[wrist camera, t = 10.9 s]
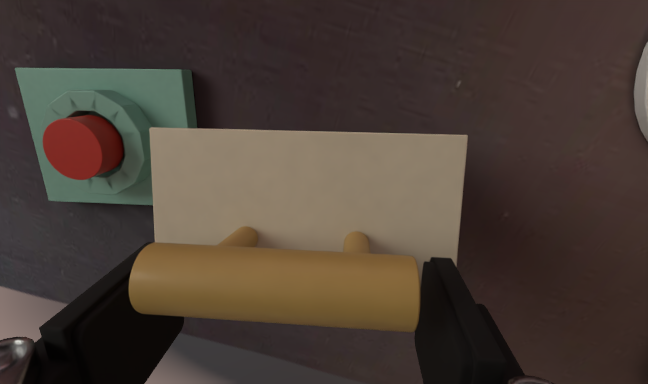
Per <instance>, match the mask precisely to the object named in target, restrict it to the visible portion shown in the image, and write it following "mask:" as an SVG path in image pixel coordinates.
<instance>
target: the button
mask: <svg viewBox="0 0 648 384" xmlns="http://www.w3.org/2000/svg"><path fill="white" fill-rule="evenodd" d="M43 149H44V152H45V155H46V157H47V159H48V161H49V162H50V164H51V165H52V166H53V167H54V168H55V169H56V170H57V171H58V172H59V173H61V174H62V175H64V176H66V177H68V178H71V179H75V180H86V179H89V178H92V177H95V176H97V175H100V174H103V173H105V172H108V171H110V170H113V169H114V168H116V167H117V166H118V165H119V163H120V162H121V160H122V158H123V153H124V147H123V142H122V139H121V136H120V134H119V133H118V131H117V130H116V129H115V127H114V126H113V125H112V124H111V123H109V122H108V121H107V120H105V119H103V118H101V117H98V116H94V115H84V116H77V117H70V118H62V119H58V120H55V121H53V122H52V123H51V124H49V125H48V127H47V128H46V130H45V132H44V134H43Z"/></svg>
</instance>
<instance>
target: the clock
mask: <svg viewBox="0 0 648 384" xmlns="http://www.w3.org/2000/svg"><path fill="white" fill-rule="evenodd" d="M149 131H150V151H151V171H152V191H153V211H154V231H155V243H151V244H149V245H147V246H146V247H145V248H143V250H142V251H141V252H140V253H139V255H138V256H137V258H136V260H135V262H134V264H133V267H132V270H131V274H130V279H129V297H130V301H131V304H132V306H133V308H134V309H135V310H136V311H137V312H139V313H142V314H153V315H168V316H182V317H197V318H211V319H226V320H240V321H255V322H269V323H284V324H298V325H313V326H327V327H342V328H356V329H371V330H385V331H400V332H414V331H415V330H416V328H417V325H418V322H419V315H420V287H421V278H422V270H423V264H424V262H425V261H426V262H430V259H431V257H442V258H451V259H452V260H453V262H454V264H455V266H457V254H458V243H459V232H460V220H461V209H462V198H463V186H464V175H465V164H466V152H467V141H468V136H467V135H447V134H406V133H365V132H324V131H283V130H242V129H201V128H160V127H151V128H150V129H149Z"/></svg>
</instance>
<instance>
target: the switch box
mask: <svg viewBox="0 0 648 384" xmlns="http://www.w3.org/2000/svg"><path fill="white" fill-rule="evenodd" d="M15 71H16V75H17V79H18V83H19V87H20V90H21V94H22V98H23V102H24V106H25V110H26V114H27V117H28V121H29V125H30V129H31V133H32V137H33V141H34V144H35V148H36V152H37V156H38V160H39V164H40V168H41V171H42V175H43V179H44V183H45V187H46V191H47V194H48V198H49V201H65V202H89V203H112V204H135V205H153V191H152V171H151V151H150V131H149V129H150V128H151V127H160V128H197V120H196V110H195V101H194V91H193V82H192V72H191V70H181V69H89V68H15ZM84 115H94V116H98V117H101V118H103V119H105V120H107V121H108V122H109V123H111V124H112V125H113V126H114V127H115V129H116V130H117V131H118V133H119V134H120V136H121V139H122V142H123V147H124V153H123V158H122V160H121V162H120V163H119V165H118V166H117V167H116V168H114V169H113V170H110V171H108V172H105V173H103V174H100V175H97V176H95V177H92V178H89V179H86V180H75V179H71V178H68V177H66V176H64V175H62V174H61V173H59V172H58V171H57V170H56V169H55V168H54V167H53V166H52V165H51V164H50V162H49V161H48V159H47V157H46V155H45V152H44V149H43V134H44V132H45V130H46V128H47V127H48V125H49V124H51V123H52V122H53V121H55V120H58V119H62V118H70V117H77V116H84Z"/></svg>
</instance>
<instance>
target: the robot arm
mask: <svg viewBox="0 0 648 384" xmlns="http://www.w3.org/2000/svg"><path fill="white" fill-rule="evenodd" d="M634 104H635V114H636V117H637V120H638V124H639V127H640V130H641V132H642V133H643V135H644V137H645V138H646V140H647V142H648V42H647V44H646V46H645V48H644V50H643V53H642V56H641V59H640V62H639V66H638V69H637V72H636V80H635V87H634ZM151 243H152V242H148V243H146V244H144V245H143V246H142V247H141V248H139V249H138V250H137V251H136V252H134V253H133V254H132V255H130V256H129V257H128V258H127V259H125V260H124V261H123V262H122V263H120V264H119V265H118V266H117V267H115V268H114V269H113V270H112V271H110V272H109V273H108V274H107V275H105V276H104V277H103V278H101V279H100V280H99V281H98V282H96V283H95V284H94V285H93V286H91V287H90V288H89V289H88V290H86V291H85V292H84V293H83V294H81V295H80V296H79V297H77V298H76V299H75V300H74V301H72V302H71V303H70V304H69V305H67V306H66V307H65V308H64V309H62V310H61V311H60V312H59V313H57V314H56V315H55V316H54V317H52V318H51V319H50V320H48V321H47V322H46V323H45V324H43V325H42V326H41V327H40V328H39V329H40V333H41V335H42V337H41V338H40V339H39V340H38V341H37V342H35V343H34V341H33V340H32V339H30V338H27V337H13V338H7V339H3V340H0V384H144V383H145V382H146V381H147V379H148V378H149V376H150V375H151V373H152V372H153V370H154V369H155V367H156V366H157V364H158V363H159V362H160V360H161V359H162V357H163V356H164V354H165V353H166V351H167V350H168V349H169V347H170V346H171V344H172V343H173V341H174V340H175V338H176V337H177V335H178V334H179V333H180V331H181V329H182V327H183V323H184V317H182V316H168V315H153V314H142V313H139V312H137V311H136V310H135V309H134V308H133V306H132V304H131V301H130V297H129V279H130V274H131V270H132V267H133V264H134V262H135V260H136V258H137V256H138V255H139V253H140V252H141V251H142V250H143V248H145V247H146V246H147V245H149V244H151ZM415 347H416V352H417V356H418V360H419V365H420V369H421V374H422V378H423V383H424V384H554V383H552V382H550V381H548V380H545V379H542V378H539V377H535V376H527V375H524V373H523V371H522V369H521V368H520V366H519V364H518V362H517V361H516V359H515V357H514V355H513V354H512V352H511V350H510V348H509V347H508V345H507V343H506V341H505V340H504V338H503V336H502V334H501V333H500V331H499V329H498V327H497V326H496V324H495V322H494V320H493V319H492V317H491V315H490V313H489V312H488V310H487V308H486V307H485V306H484V305H482V304H476V303H475V301H474V299H473V298H472V296H471V294H470V292H469V290H468V288H467V286H466V284H465V283H464V281H463V279H462V277H461V275H460V273H459V271H458V270H457V268H456V266H455V264H454V262H453V260H452V259H451V258H442V257H431V259H430V262H426V261H425V262H424V264H423V270H422V278H421V287H420V315H419V322H418V325H417V328H416V330H415Z"/></svg>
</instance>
